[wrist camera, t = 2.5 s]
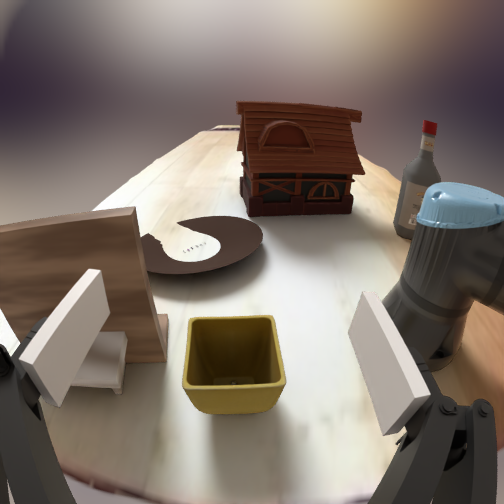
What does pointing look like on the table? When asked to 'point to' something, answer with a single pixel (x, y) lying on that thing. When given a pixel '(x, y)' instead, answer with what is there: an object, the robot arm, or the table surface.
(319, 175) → the house
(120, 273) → the cleat board
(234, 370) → the flower pot
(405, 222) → the liquor
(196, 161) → the table surface
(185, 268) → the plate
